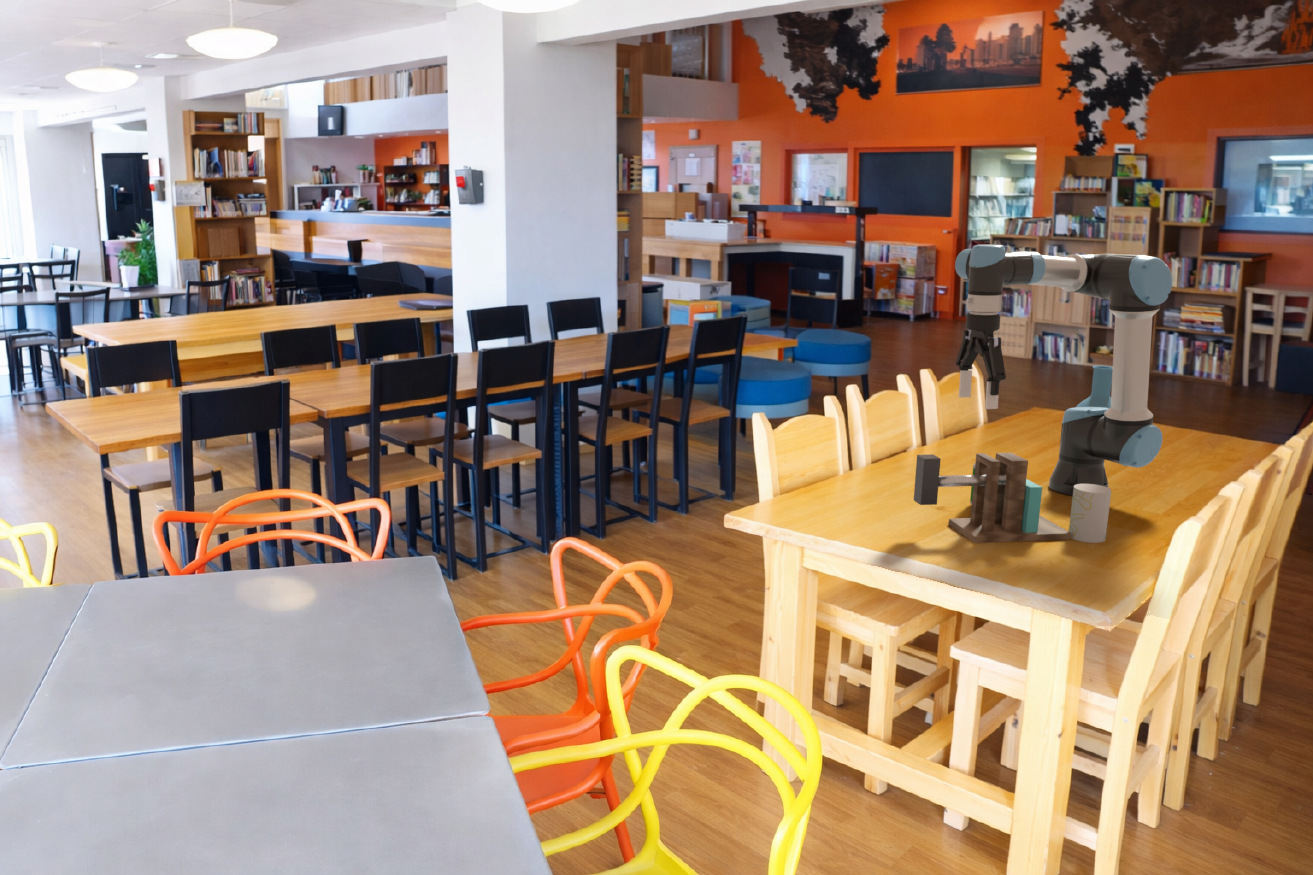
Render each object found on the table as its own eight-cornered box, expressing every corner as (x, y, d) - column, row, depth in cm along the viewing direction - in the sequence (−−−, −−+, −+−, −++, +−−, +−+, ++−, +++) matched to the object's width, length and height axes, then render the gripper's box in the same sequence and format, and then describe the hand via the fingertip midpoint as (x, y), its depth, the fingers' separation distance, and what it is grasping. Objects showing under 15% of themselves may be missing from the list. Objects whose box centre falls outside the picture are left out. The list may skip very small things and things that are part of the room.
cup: (1062, 532, 249) (1067, 483, 247) (1094, 531, 250) (1100, 483, 247) (1078, 542, 242) (1084, 493, 239) (1112, 542, 242) (1118, 492, 240)
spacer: (1014, 518, 254) (1018, 474, 252) (1037, 532, 244) (1042, 487, 241) (1002, 518, 254) (1007, 475, 251) (1025, 532, 243) (1030, 487, 241)
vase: (1130, 447, 338) (1140, 371, 333) (1079, 446, 339) (1088, 370, 333) (1109, 436, 355) (1118, 363, 349) (1061, 435, 355) (1069, 362, 349)
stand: (1039, 521, 257) (1047, 448, 253) (1070, 539, 244) (1079, 462, 240) (948, 524, 253) (954, 450, 249) (974, 543, 240) (982, 465, 236)
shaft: (1004, 497, 249) (1008, 452, 246) (1012, 502, 245) (1017, 456, 242) (913, 500, 245) (917, 454, 242) (920, 505, 241) (924, 458, 239)
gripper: (944, 307, 252) (939, 393, 257) (994, 319, 228) (987, 414, 233) (973, 306, 253) (968, 392, 258) (1026, 318, 229) (1018, 413, 234)
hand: (977, 402), depth 245 cm, fingers open, 13 cm apart
